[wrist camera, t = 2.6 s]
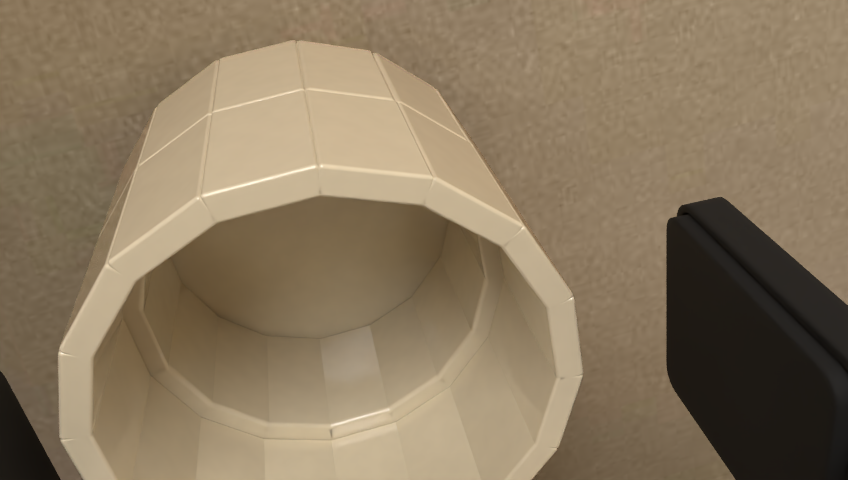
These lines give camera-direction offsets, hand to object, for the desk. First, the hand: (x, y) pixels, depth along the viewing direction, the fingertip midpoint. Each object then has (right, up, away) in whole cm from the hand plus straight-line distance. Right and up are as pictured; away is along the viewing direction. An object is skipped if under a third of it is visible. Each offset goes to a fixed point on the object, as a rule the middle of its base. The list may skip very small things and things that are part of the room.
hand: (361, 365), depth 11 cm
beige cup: (-1, +2, +5) cm, 5 cm away
